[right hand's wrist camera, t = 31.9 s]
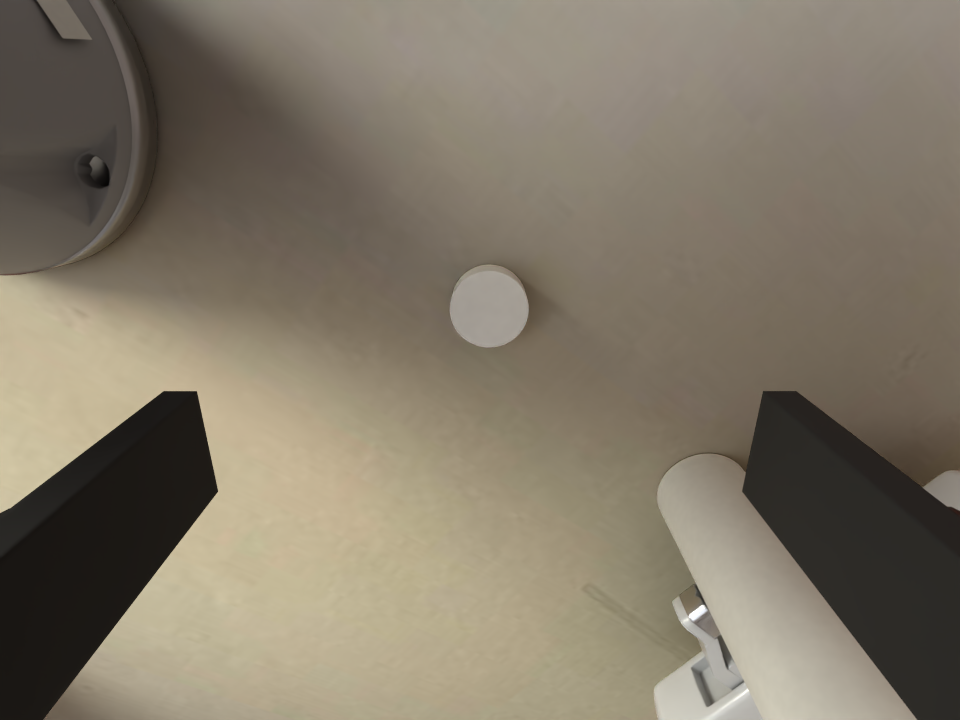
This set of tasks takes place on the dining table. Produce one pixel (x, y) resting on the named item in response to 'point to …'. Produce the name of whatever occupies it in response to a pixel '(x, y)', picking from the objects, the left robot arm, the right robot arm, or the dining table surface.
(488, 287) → the cap
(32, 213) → the right robot arm
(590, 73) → the dining table surface
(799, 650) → the bottle
